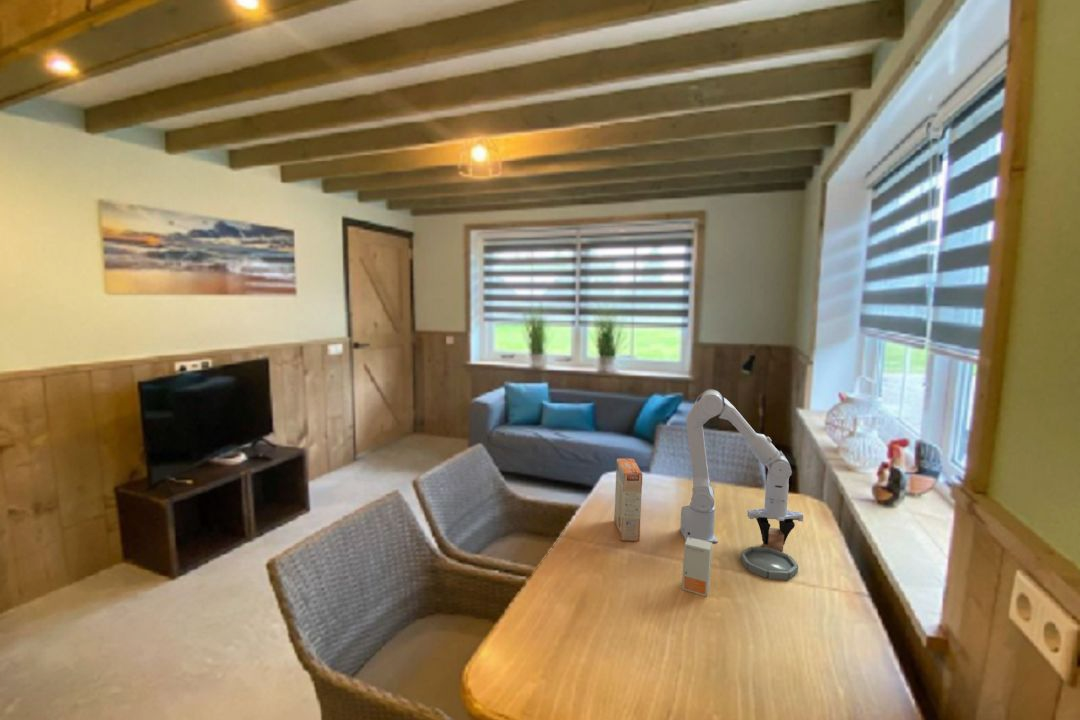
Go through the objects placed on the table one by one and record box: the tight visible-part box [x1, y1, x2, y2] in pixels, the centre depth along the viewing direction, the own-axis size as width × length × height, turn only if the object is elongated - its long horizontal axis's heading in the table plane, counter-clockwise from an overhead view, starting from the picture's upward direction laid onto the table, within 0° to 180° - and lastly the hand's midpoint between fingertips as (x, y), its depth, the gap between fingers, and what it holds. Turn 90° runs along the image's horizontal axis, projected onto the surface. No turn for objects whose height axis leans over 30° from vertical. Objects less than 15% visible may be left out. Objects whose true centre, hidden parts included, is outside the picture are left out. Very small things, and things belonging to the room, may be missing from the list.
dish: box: [739, 546, 799, 581], centre depth 127 cm, size 13×13×2 cm
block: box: [762, 527, 785, 552], centre depth 136 cm, size 4×4×5 cm
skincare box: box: [681, 537, 713, 597], centre depth 115 cm, size 6×4×12 cm
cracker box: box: [613, 458, 644, 542], centre depth 145 cm, size 14×6×21 cm, turn 179°
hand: (773, 543), depth 136 cm, fingers closed on block, 4 cm apart
